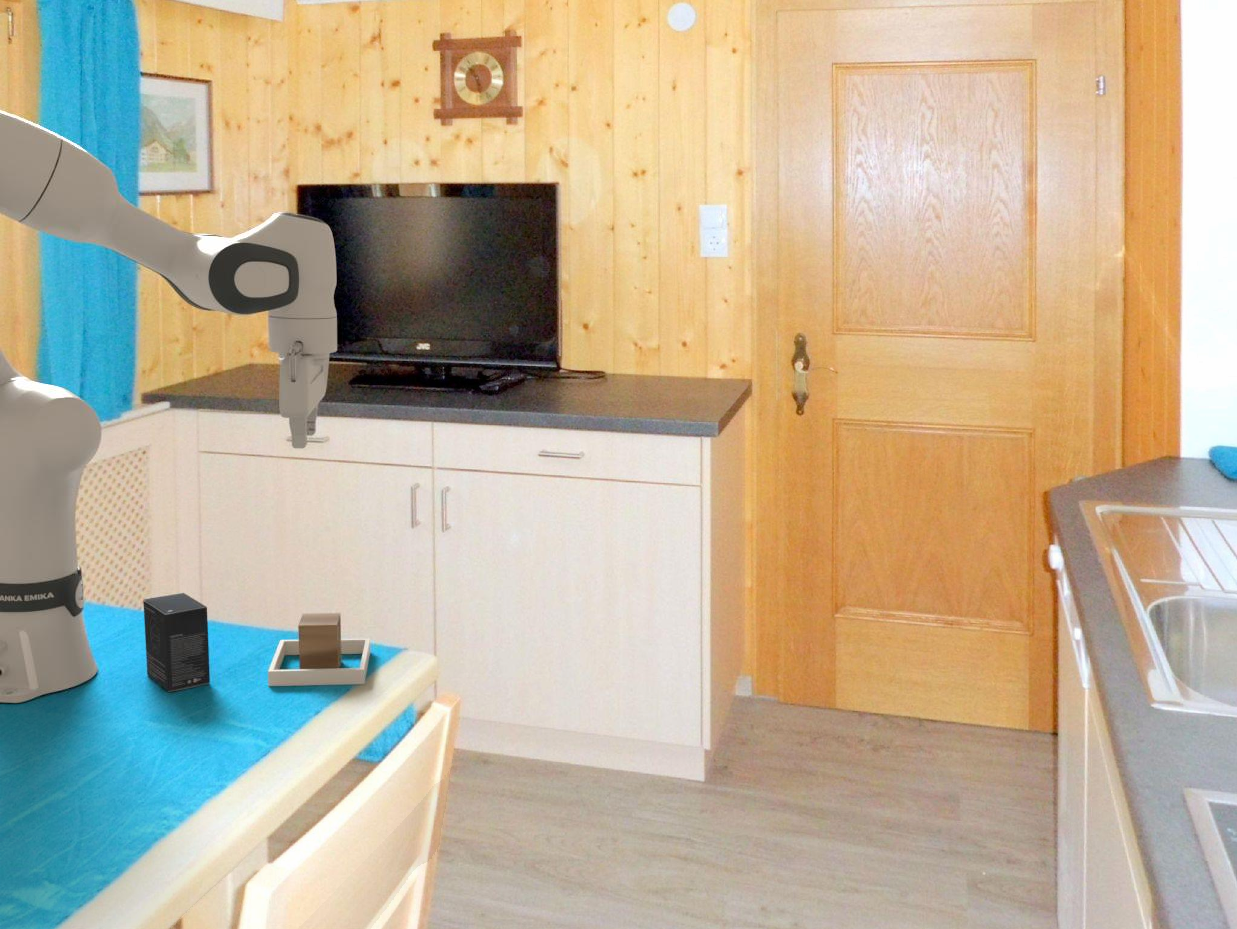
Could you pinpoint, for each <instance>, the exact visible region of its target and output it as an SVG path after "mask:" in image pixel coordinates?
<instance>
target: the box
mask: <svg viewBox="0 0 1237 929" xmlns="http://www.w3.org/2000/svg"><path fill="white" fill-rule="evenodd" d="M143 618H144V636H145V655H146V674H147V676H148V677H149V678H151V679H152V680H153V681H154V682H156V683H157V684H158V685H159V686H161V687H162V688H163V689H165V690H166V691H167V692H170V693H171V692H175V691H181V690H187V689H191V688H197V687H201V686H206V685H209V684H210V683H211V677H210V675H211V674H210V673H211V672H210V648H209V627H208V626H209V624H208V606H206V605H204V604H203V603H201V602H199V601H198V600H197V599H195V598H193V597H191V596H190V595H188V594H186V593H184V592H181V593H176V594H170V595H169V594H168V595H164V596H162V595H161V596H157V597H156V596H155V597H150V598H145V599H143Z"/></svg>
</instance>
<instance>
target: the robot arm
mask: <svg viewBox="0 0 1237 929" xmlns="http://www.w3.org/2000/svg"><path fill="white" fill-rule="evenodd" d="M0 214H1V215H3V216H5V217H7V218H10V219H12V220H14V221H16V222H18V223H19V224H22V225H24V226H26V227H28V228H31V229H33V230H36V231H38V232H41V233H44V234H47V235H49V236H53V237H56V238H60V239H63V240H67V241H71V242H76V243H82V244H83V243H85V244H93V245H97V246H101V247H103V248H106V249H108V250H111V251H113V252H115V253H117V254H119V255H121V256H123V257H124V258H127V259H129V260H130V261H133V262H134V263H137V264H139V265H141V266H143V267H145V268H147V269H149V270H150V271H152V272H154V273H156V274H158V275H159V276H161V277H162V278H163V280H165V281H166V283H168V284H169V285H170V287H172V289H173V290H174V291H175V293H176V294H177V295H178V296H179V297H180V298H181V299H182V300H183V301H184V302H186V303H187V304H188V305H190V306H192V307H194V308H196V309H199V310H202V311H209V312H210V311H213V312H221V313H225V314H229V315H234V316H235V315H236V316H242V317H243V316H251V315H255V314H258V313H259V314H260V313H263V312H267V313H268V314H267V315H268V316H267V320H268V321H267V322H268V350H269V351H270V352H271V353H275V354H278V363H279V364H280V366H279V368H280V369H279V391H278V392H279V393H278V395H279V396H278V397H279V398H278V400H279V414H280V417H282V418H283V419H286V418H287V419H289V420H288V423H289V424H288V425H289V429H290V434H291V446H292V448H293V449H305V448H306V446H307V445H308V436H309V437H312V436H314V435H315V434H316V432H317V416H318V411H319V410H318V407H319V403H320V402H321V401H322V399H323V398H324V397H325V395H326V393H327V392H326V391H327V387H328V378H329V377H328V376H329V364H330V354H333V353H336V352H337V351H338V317H337V315H338V313H337V309H336V307H335V306H336V305H335V299H334V297H335V296H334V295H335V292H336V291H335V290H336V287H337V277H338V276H337V257H336V248H335V242H334V241H335V240H334V236H333V232H332V229H331V228H330V226H329V225H328V224H327V222H325V221H324V220H322V219H319V218H318V217H314V216H309V215H305V214H300V213H299V214H297V213H293V212H282V211H281V212H276V213H273V214H272V216H271V217H269V219H266V221H265V222H263V223H262V224H260V225H258V226H256V227H254V228H252V229H251V230H249V231H246V232H244V233H241V234H238V235H235V236H234V237H224V236H221V235H217V234H210V233H194V232H193V233H192V232H191V233H190V232H187V231H184V230H180V229H178V228H177V227H175V226H173V225H171V224H169V223H167V222H165V221H163V220H162V219H160V218H158V217H155V216H154V215H153V214H151V213H148V212H147V211H145V210H142V209H141V208H139V207H137V206H136V205H134V204H132V203H131V202H129V200H127V199H126V198H125V197H124V196H123V195H122V194H121V192H120V191H119V186H118V182H117V179H116V177H115V175H114V173H113V171H112V170H111V168H110V167H108V166H107V165H106V164H104V163H103V162H102V161H100V159H98V158H96V157H95V156H94V155H92V153H90V152H88V151H87V150H86V149H84V148H82V147H81V146H80V145H78V144H76V143H74V142H72V141H71V140H69V139H67V138H65V137H63V136H61V135H59V134H58V133H55V132H53V131H51V130H49V129H47V128H44V127H43V126H40V125H39V124H36V123H33V122H31V121H29V120H26V119H24V118H21V117H19V116H17V115H14V114H10V113H8V112H6V111H3V110H0ZM101 424H102V423H101V421H100V418H99V415H98V413H97V412H96V411H95V409H94V408H93V407H92V406H91V405H90V404H89V403H88V402H86V401H85V400H83V399H82V398H80V396H77V395H76V394H74V393H73V392H72V391H69V390H68V389H66V388H64V387H61V386H57V385H53V384H47V383H41V382H38V381H34V380H32V379H30V378H29V377H27V376H25V375H23V374H22V373H20V372H19V371H18V370H17V369H16V368H15V367H14V366H13V365H12V363H11V362H10V360H9V359H8V358H7V356H6V355H5V353H4V352H3V350H2V349H1V347H0V703H7V704H8V703H9V704H11V703H12V704H18V703H25V702H27V701H30V700H32V699H35V698H38V697H41V696H42V695H46V694H50V693H55V692H58V691H59V692H60V691H63V690H67V689H69V688H73V687H76V686H79V685H81V684H83V683H85V682H87V681H89V680H90V679H92V678H93V677H94V676H95V675H96V674H97V673H98V670H99V668H98V665H97V662H96V660H95V657H94V654H93V652H92V649H91V646H90V641H89V638H88V633H87V630H86V624H85V618H84V611H83V610H84V607H85V583H84V580H83V573H82V567H80V565H78V563H79V562H78V548H77V547H78V546H77V545H78V544H77V529H76V528H77V527H76V526H77V524H76V516H77V515H76V512H77V511H76V510H77V501H78V495H79V490H80V486H81V482H82V477H83V474H84V470H85V467H86V466H87V465H88V464H89V463H90V461H92V459H94V457H95V455H96V454H97V452H98V450H99V448H100V444H101V442H102V440H101V439H102V425H101Z"/></svg>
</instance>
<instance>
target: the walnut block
mask: <svg viewBox="0 0 1237 929" xmlns="http://www.w3.org/2000/svg"><path fill="white" fill-rule="evenodd" d="M341 616H342V615H341V612H329V613H328V612H327V613H326V612H322V613H320V612H319V613H316V612H314V613H312V612H311V613H310V612H309V613H302V615H301V617H300V620H299V623H298V625H297V626H298V627H297V628H298V630H297V631H298V640H299V656H298V659H299V660H298V662H299V666H298V667H299V669H337V668H341V665H342V654H341V639H342V633H341V631H342V628H341V627H342V625H341V624H342V623H341V622H342V620H341V618H342V617H341Z"/></svg>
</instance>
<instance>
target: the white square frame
mask: <svg viewBox="0 0 1237 929" xmlns="http://www.w3.org/2000/svg"><path fill="white" fill-rule="evenodd" d="M354 654H355V655H356V654H357V655H361V654H362V655H361V660H360V665H359V667H350V668H348V667H347V668H343V667H342V668H341V667H340V668H337V669H300V668H299V669H298V668H295V669H293V668H291V669H288V668H287V669H281V666H282V663H283V661H284V658H285V656H298V655H299V639H280V640H279V643H278V645H277V648H276V650H275V652H274V655H273V657H272V660H271V663H270V666H269V668H268V670H267V677H268V678H267V679H268V681H267V684H268V687H289V686H290V687H292V686H296V687H299V686H326V685H327V686H331V685H332V686H333V685H334V686H337V685H338V686H339V685H343V686H344V685H365V683H366V677H367V672H368V666H369V661H370V656H371V637H370V638H369V637H367V638H366V637H365V638H363V637H362V638H341V655H354Z"/></svg>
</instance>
